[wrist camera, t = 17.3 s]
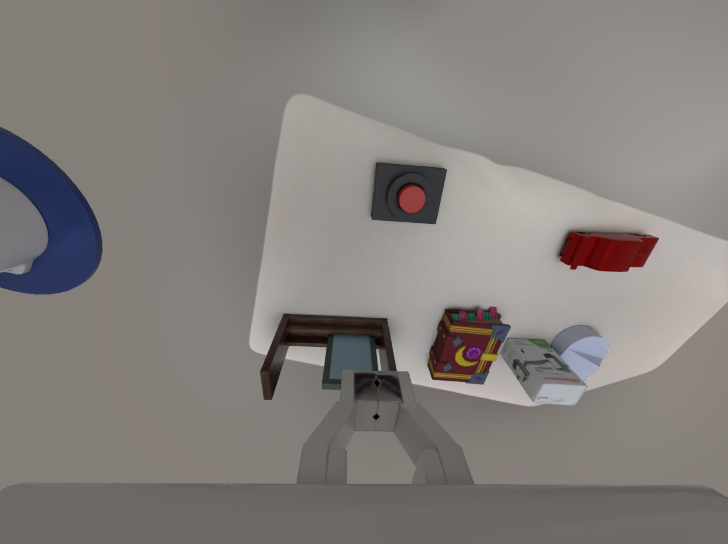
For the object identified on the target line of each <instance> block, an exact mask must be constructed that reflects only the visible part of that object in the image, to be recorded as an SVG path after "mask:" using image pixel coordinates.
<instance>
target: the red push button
mask: <svg viewBox="0 0 728 544" xmlns="http://www.w3.org/2000/svg"><path fill="white" fill-rule="evenodd" d="M398 203H399V205H400V206H401V208H402V209H403V210H404V211H406V212H408V213H414V212H417V211H419V210H420V209H421V208H422V207H423V206H424V203H425V193H424V191H423V190H422V189H421V188H419V187H418V186H416V185H413V184H409V185H406V186H404V187H403V188H402V189H401V190H400V191H399V193H398Z"/></svg>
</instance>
